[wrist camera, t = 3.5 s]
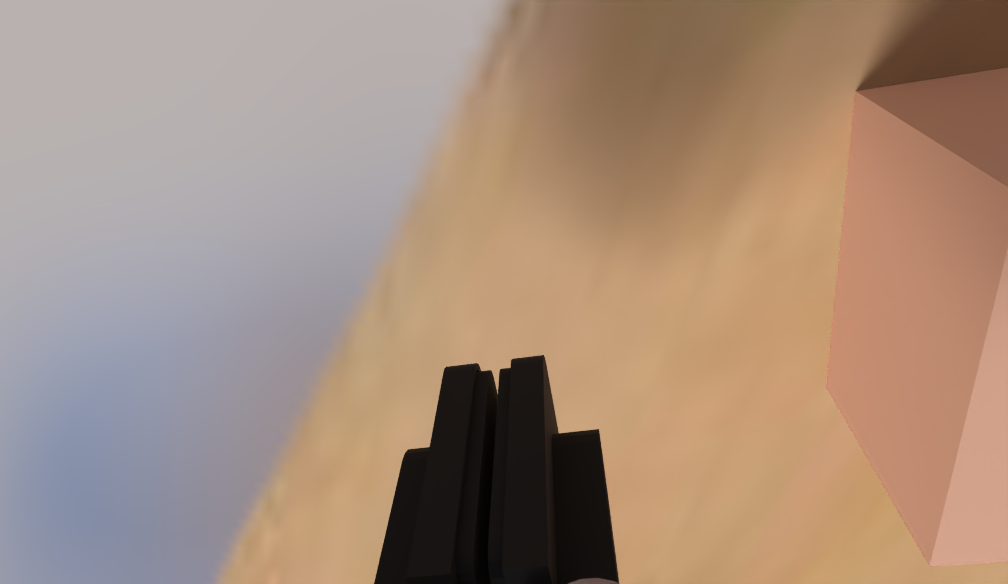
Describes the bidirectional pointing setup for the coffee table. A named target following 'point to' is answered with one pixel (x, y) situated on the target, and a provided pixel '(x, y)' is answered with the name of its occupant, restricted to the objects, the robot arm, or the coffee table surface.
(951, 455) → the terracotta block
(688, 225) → the coffee table surface
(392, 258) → the coffee table surface
